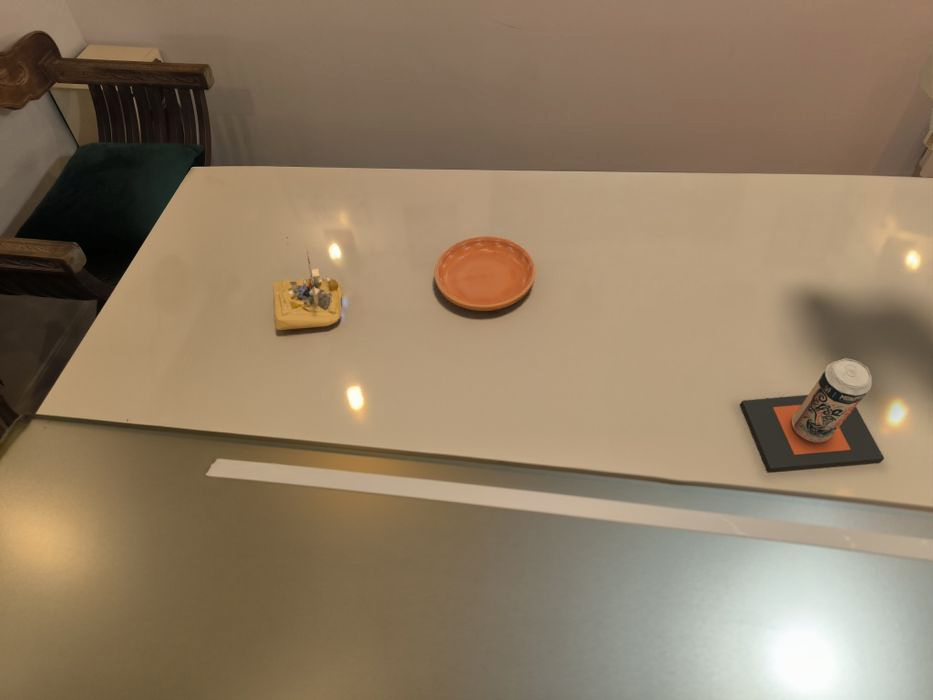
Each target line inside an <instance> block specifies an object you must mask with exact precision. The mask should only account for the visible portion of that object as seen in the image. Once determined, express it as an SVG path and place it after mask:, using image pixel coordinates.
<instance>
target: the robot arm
mask: <svg viewBox="0 0 933 700" xmlns="http://www.w3.org/2000/svg"><path fill="white" fill-rule="evenodd" d="M918 74H919V75H918V87H919V88H920V90H922V91H923V92H924V93H925V94H926V95H927V96H928V97H929V98H930V99H931V100H932V101H933V45H932V46H931V47H930V49H929V51H928V54H927V55H926V57H925V59H924V61H923V63H922V65H921V68H920V70H919V72H918ZM922 143H923V144H924V145H925V146H926V147H927V148H928V149H929V150H930V151H932V152H933V107H932V108H931V110H930V119H929V130H928V133H927V134H926V135H925V137H924V139H923V142H922Z"/></svg>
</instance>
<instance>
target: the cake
mask: <svg viewBox="0 0 933 700" xmlns="http://www.w3.org/2000/svg"><path fill="white" fill-rule="evenodd" d="M286 239H289V237H288V236H286ZM306 246H308V245H307V243H306ZM306 254H307V262H308V270H309V273H310V278H304V279H297V280H296V279H295V280H279V281H276V282H274V283H273V284H272V285H273V286H272V288H273V290H272V291H273V308H274V322H275V329H276V330H277V331H282V330H283V331H284V330H294V329H295V330H296V329H307V328H308V329H309V328H321V327H328V326H331V325H333V324H335V323H338V322H339V319H340V318H341V316H342V298H343V296H344V295H343V294H344V293H343V288H342V286H341V284H340V282H338V281H337V280H336V279H333V278H331V277H321V276H320V275H321V274H320V269H319V268H312V266H311V260H310V255H309V251H308V248H306Z"/></svg>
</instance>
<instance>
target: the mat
mask: <svg viewBox="0 0 933 700" xmlns="http://www.w3.org/2000/svg"><path fill="white" fill-rule="evenodd" d="M808 395H809V394H801V395H791V396H790V395H789V396H780V397H770V398H769V397H768V398H756V399H755V398H754V399H744V400H741V402H740V407H741V410H742V413H743V414H744V417H745V420H746V422H747V425H748V427H749V429H750V432H751V434H752V437H753V439H754V442H755V444H756V446H757V449H758V451H759V453H760V456H761V459H762V461H763V463H764V466H765V468H766V471H767V472H768V473H771V472H780V471H781V472H783V471H795V470H806V469H817V468H818V469H819V468H828V467H829V468H830V467H842V466H851V465H864V464H874V463H875V464H876V463H881V462H883V460H884V459H885V457H884V455H883V453H882V451H881V450H880V447H879V446H878V444H877V442H876V441H875V439H874V437H873V435H872V433H871V432H870V429H869V428H868V426H867V424H866V422H865V421H864V418H863V417H862V415H861V413H860V412H859V409H858V408H857V406H856V407H855V408H854V409H853V410H852V411H851V413H850V414H849V415H848V416H847V418H846V419H845V420H844V421H843V422H842V424H841V425H840V426H839V427H838V429H837V430H836V431H835V432H834V434H833V435H832V436H831V437H830V438H829V439H828V440H826V441H824V442H812V441H809V440H806V439H804V438H803V437H801V436H800V435H799V434H798V433H797V432H796V431H795V429H794V427H793V425H792V418H793V416H794V414H795V413H796V412H797V411H798V409H799V408H800V406H801V405H802V403H803V402H804V401H805V399H806V398H807V396H808Z"/></svg>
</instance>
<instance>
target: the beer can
mask: <svg viewBox="0 0 933 700" xmlns="http://www.w3.org/2000/svg"><path fill="white" fill-rule="evenodd" d="M872 377H873V376H872V374H871V372H870V369H869V368H868V367H867V366H866V365H864V364H863V363H861V362H860V361H859V360H855V359H850V358H843V359H839V360H836V361H832V362H831V363H829V364H828V365H827V366H826V367H825V369H824V371H823V373H822V374H821V376H820V377H819V379H818V380H817V381H816V383H815V385H814V386H813V388H812V389H811V390H810V392H809V393H808V394H807V395H808V396H807V398H806V399H805V401H804V402H803V403H802V405H801V406H800V408H799V409H798V411H797V412H796V413H795V414H794V416H793V418H792V425H793V427H794V429H795V431H796V432H797V433H798V434H799V435H800V436H801V437H803V438H804V439H806V440H809V441H812V442H824V441H826V440H828V439H829V438H830V437H831V436H832V435H833V434H834V432H835V431H836V430H837V429H838V427H839V426H840V425H841V424H842V422H843V421H844V420H845V419H846V418H847V416H848V415H849V414H850V413H851V411H852V410H853V409H854V408H855V407H856V408H857V406H858V405H859V403H860V402H861V400H862V399H863V398H864V397H865V396H866V395H867V393H868V392H869V391H870V390H871V388H872V383H873V382H872Z"/></svg>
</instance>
